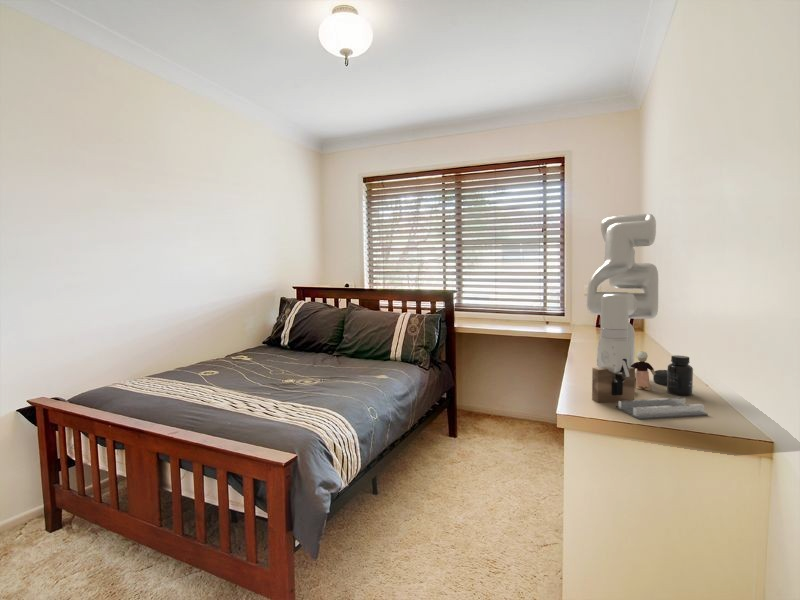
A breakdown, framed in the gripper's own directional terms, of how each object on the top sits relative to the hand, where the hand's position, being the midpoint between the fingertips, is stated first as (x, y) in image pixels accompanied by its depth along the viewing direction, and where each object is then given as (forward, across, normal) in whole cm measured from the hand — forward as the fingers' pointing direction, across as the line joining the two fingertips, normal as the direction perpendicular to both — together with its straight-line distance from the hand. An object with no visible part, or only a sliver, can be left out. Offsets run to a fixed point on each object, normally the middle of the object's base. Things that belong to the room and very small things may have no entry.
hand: (613, 392), depth 126 cm
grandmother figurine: (+2, -10, +17) cm, 20 cm away
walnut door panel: (+2, 0, 0) cm, 2 cm away
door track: (+2, +12, +6) cm, 14 cm away
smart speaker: (+3, -15, +31) cm, 35 cm away
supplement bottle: (+2, -3, +25) cm, 25 cm away
